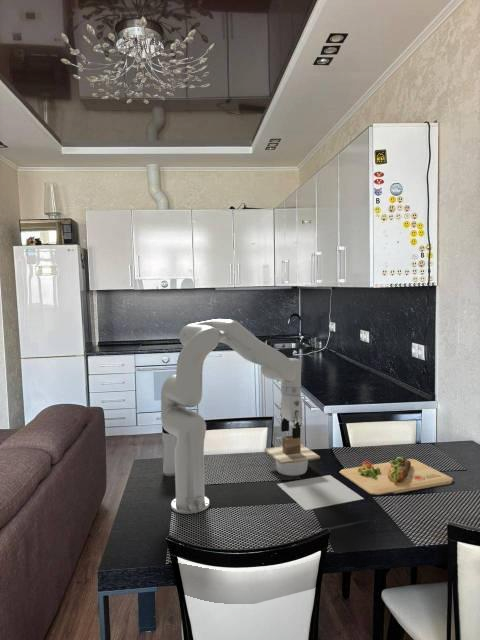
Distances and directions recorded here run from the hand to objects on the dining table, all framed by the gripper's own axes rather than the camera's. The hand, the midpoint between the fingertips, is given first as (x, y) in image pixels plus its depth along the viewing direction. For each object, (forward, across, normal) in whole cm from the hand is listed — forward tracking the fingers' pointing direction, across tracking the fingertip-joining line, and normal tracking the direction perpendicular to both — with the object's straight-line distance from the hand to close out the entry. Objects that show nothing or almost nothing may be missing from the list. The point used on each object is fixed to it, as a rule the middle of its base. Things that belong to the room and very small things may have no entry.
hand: (290, 434), depth 185 cm
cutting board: (+15, -20, -34) cm, 42 cm away
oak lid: (+8, 0, -1) cm, 8 cm away
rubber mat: (+15, -21, -1) cm, 26 cm away
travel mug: (+16, +16, +43) cm, 49 cm away
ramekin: (+15, 0, -1) cm, 15 cm away
